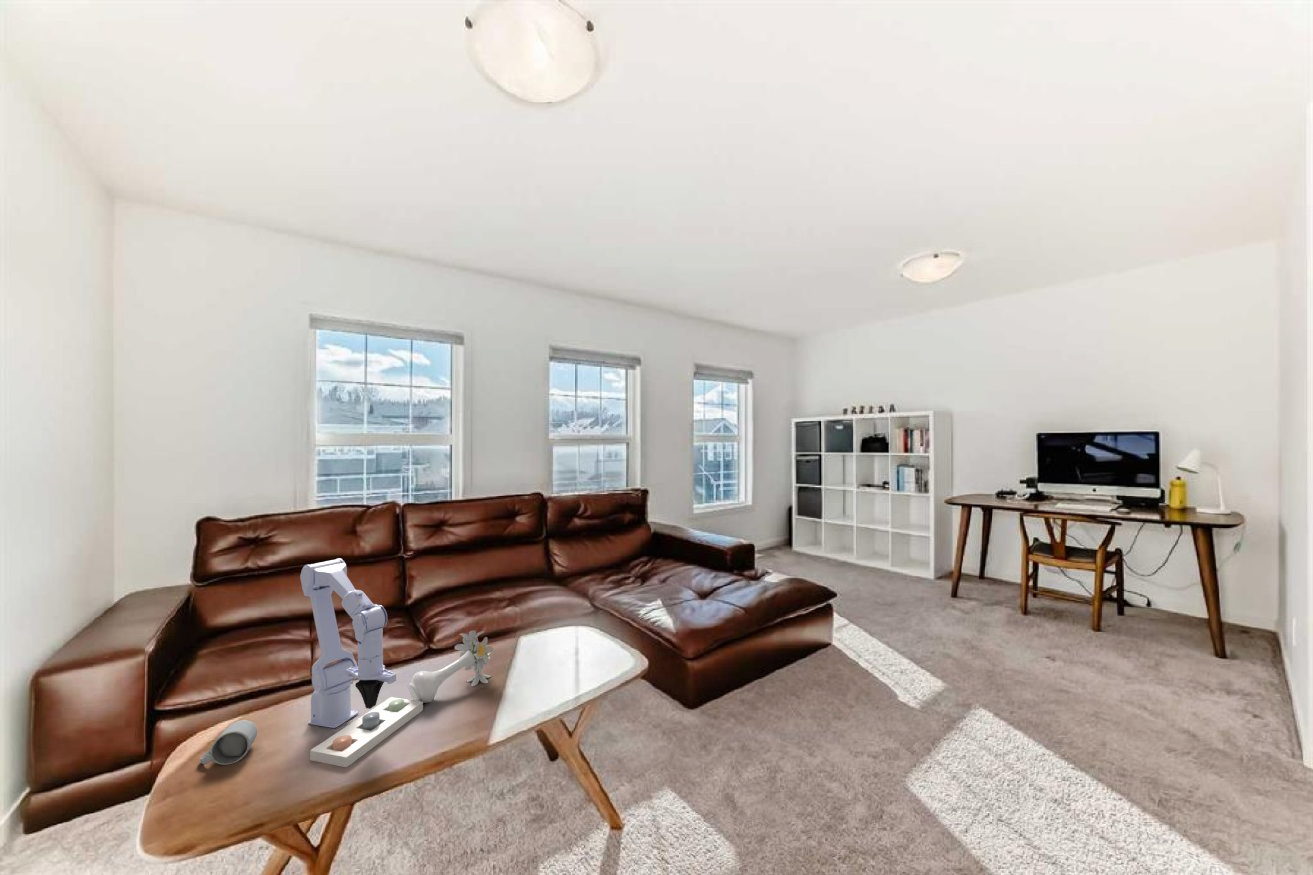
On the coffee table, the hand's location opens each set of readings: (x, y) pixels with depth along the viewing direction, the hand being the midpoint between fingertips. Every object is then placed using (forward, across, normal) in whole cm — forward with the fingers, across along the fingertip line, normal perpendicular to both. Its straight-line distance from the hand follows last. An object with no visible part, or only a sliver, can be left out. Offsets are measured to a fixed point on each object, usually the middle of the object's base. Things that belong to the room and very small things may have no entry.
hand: (370, 706), depth 133 cm
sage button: (+8, +2, -11) cm, 14 cm away
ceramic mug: (+9, +28, +16) cm, 33 cm away
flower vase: (+9, -4, -27) cm, 29 cm away
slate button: (+7, +2, -2) cm, 8 cm away
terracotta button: (+8, +2, +7) cm, 11 cm away
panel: (+8, +2, -2) cm, 9 cm away
